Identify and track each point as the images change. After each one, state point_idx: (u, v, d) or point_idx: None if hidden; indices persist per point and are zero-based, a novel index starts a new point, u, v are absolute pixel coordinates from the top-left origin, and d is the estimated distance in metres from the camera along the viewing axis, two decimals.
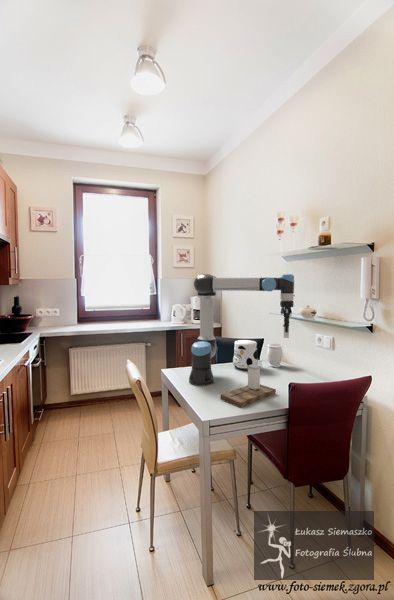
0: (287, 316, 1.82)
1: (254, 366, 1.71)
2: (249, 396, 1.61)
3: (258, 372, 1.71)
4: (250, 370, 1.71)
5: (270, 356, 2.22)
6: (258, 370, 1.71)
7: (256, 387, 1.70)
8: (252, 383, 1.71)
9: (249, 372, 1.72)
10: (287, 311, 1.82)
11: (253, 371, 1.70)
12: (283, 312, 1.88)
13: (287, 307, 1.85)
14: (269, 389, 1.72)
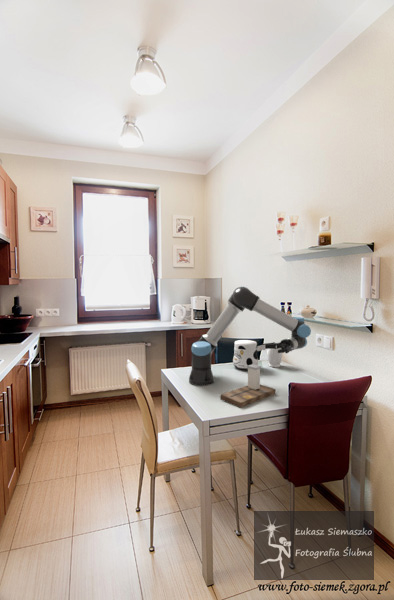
0: (290, 349, 1.80)
1: (254, 366, 1.71)
2: (249, 396, 1.61)
3: (258, 372, 1.71)
4: (250, 370, 1.71)
5: (270, 356, 2.22)
6: (258, 370, 1.71)
7: (256, 387, 1.70)
8: (252, 383, 1.71)
9: (249, 372, 1.72)
10: (292, 348, 1.83)
11: (253, 371, 1.70)
12: (284, 343, 1.86)
13: None
14: (269, 389, 1.72)
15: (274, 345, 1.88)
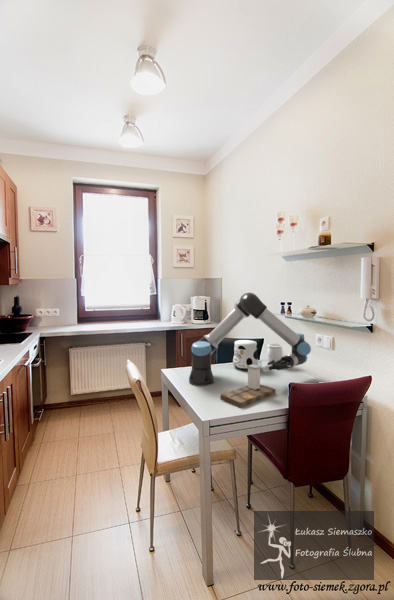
0: (284, 367, 1.82)
1: (254, 366, 1.71)
2: (249, 396, 1.61)
3: (258, 372, 1.71)
4: (250, 370, 1.71)
5: (270, 356, 2.22)
6: (258, 370, 1.71)
7: (256, 387, 1.70)
8: (252, 383, 1.71)
9: (249, 372, 1.72)
10: (289, 366, 1.83)
11: (253, 371, 1.70)
12: (283, 361, 1.87)
13: (290, 364, 1.87)
14: (269, 389, 1.72)
15: (277, 363, 1.86)
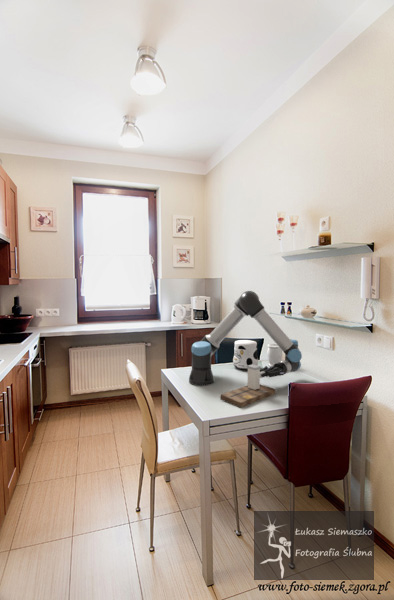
0: (277, 374, 1.78)
1: (254, 366, 1.71)
2: (249, 396, 1.61)
3: (258, 372, 1.71)
4: (250, 370, 1.71)
5: (270, 356, 2.22)
6: (258, 370, 1.71)
7: (256, 387, 1.70)
8: (251, 383, 1.71)
9: (249, 372, 1.72)
10: (281, 373, 1.79)
11: (253, 371, 1.70)
12: (276, 367, 1.83)
13: (283, 371, 1.84)
14: (269, 389, 1.72)
15: None
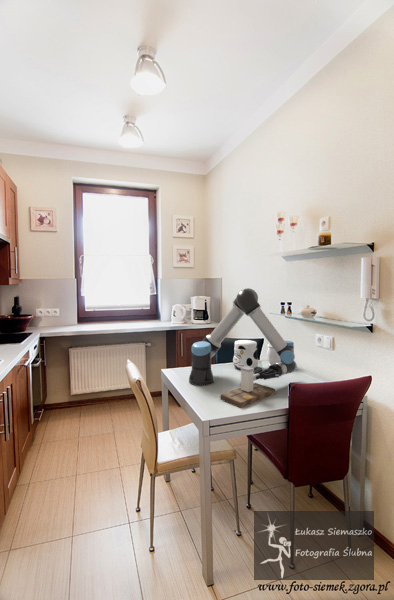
0: (272, 376, 1.74)
1: (247, 368, 1.67)
2: (249, 396, 1.61)
3: (251, 374, 1.67)
4: (243, 372, 1.68)
5: (270, 356, 2.22)
6: (251, 372, 1.67)
7: (249, 389, 1.67)
8: (245, 385, 1.67)
9: (242, 374, 1.69)
10: (277, 375, 1.75)
11: (246, 373, 1.66)
12: (271, 369, 1.79)
13: (278, 373, 1.80)
14: (269, 389, 1.72)
15: None
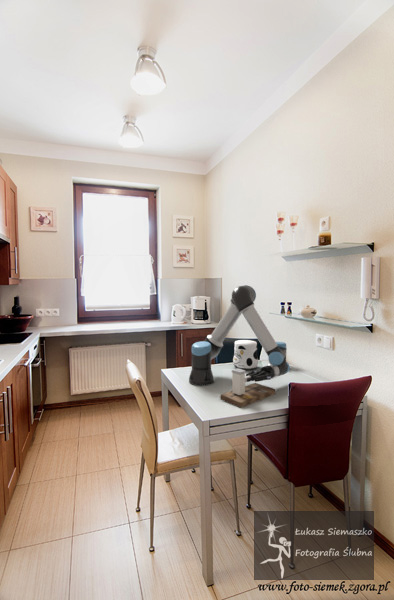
0: (264, 378, 1.70)
1: (239, 370, 1.63)
2: (249, 396, 1.61)
3: (243, 377, 1.63)
4: (234, 375, 1.64)
5: None
6: (243, 375, 1.63)
7: (241, 392, 1.62)
8: (236, 388, 1.63)
9: (233, 377, 1.64)
10: (268, 378, 1.71)
11: (237, 376, 1.62)
12: (263, 371, 1.75)
13: (270, 375, 1.76)
14: (269, 389, 1.72)
15: (256, 374, 1.75)
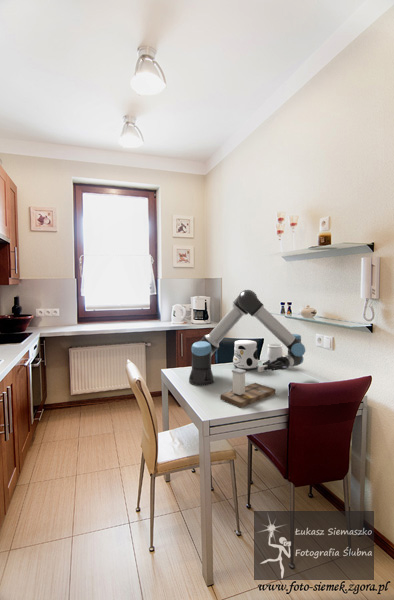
0: (280, 368, 1.78)
1: (239, 370, 1.63)
2: (249, 396, 1.61)
3: (243, 377, 1.63)
4: (235, 374, 1.64)
5: (270, 356, 2.22)
6: (243, 375, 1.63)
7: (241, 392, 1.63)
8: (236, 388, 1.63)
9: (234, 377, 1.64)
10: (284, 367, 1.79)
11: (238, 376, 1.62)
12: (278, 361, 1.83)
13: (285, 365, 1.84)
14: (269, 389, 1.72)
15: (272, 364, 1.83)
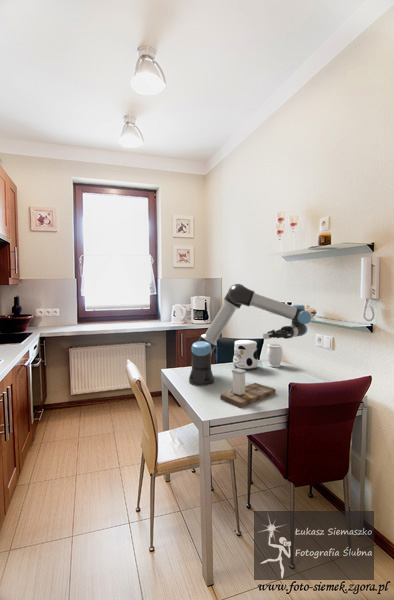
0: (284, 335, 1.81)
1: (239, 370, 1.63)
2: (249, 396, 1.61)
3: (243, 377, 1.63)
4: (235, 374, 1.64)
5: (270, 356, 2.22)
6: (243, 375, 1.63)
7: (241, 392, 1.63)
8: (236, 388, 1.63)
9: (234, 377, 1.64)
10: (289, 335, 1.82)
11: (238, 376, 1.62)
12: (283, 330, 1.85)
13: None
14: (269, 389, 1.72)
15: (277, 332, 1.85)
